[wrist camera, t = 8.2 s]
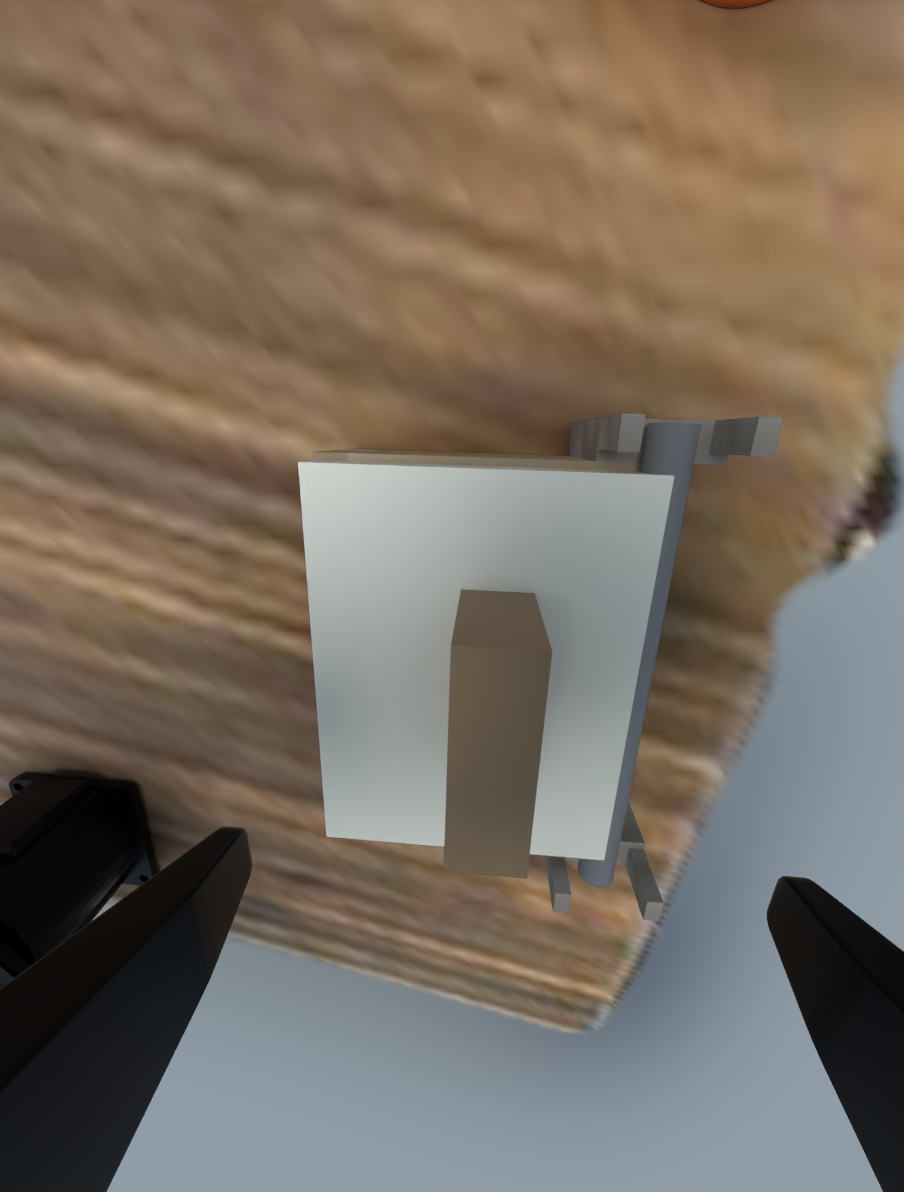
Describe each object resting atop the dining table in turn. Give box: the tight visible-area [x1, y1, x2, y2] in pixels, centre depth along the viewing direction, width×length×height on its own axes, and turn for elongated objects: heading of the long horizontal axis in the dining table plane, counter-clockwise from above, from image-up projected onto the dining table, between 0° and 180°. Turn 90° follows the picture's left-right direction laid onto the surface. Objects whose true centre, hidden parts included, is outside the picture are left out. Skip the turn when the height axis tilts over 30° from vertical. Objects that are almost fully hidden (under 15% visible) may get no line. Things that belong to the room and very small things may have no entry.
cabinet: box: [312, 413, 783, 921], centre depth 16 cm, size 15×11×6 cm
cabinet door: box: [298, 423, 701, 887], centre depth 12 cm, size 15×10×5 cm
